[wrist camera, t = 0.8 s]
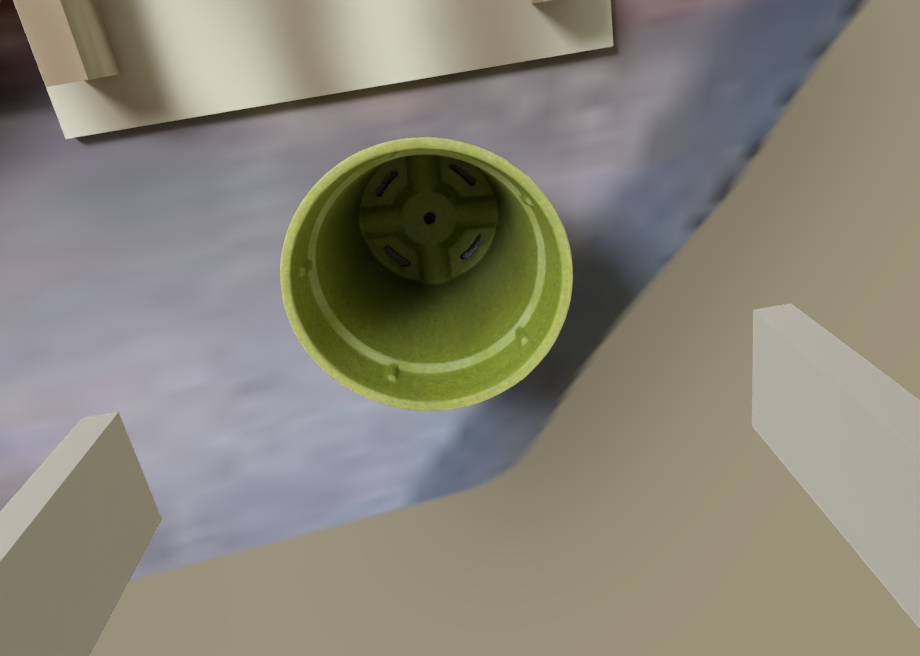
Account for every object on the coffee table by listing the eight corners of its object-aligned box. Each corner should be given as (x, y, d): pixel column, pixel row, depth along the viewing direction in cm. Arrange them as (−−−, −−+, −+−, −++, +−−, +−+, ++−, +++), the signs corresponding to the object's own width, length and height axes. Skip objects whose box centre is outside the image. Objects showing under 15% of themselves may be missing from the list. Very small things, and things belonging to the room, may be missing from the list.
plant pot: (450, 352, 33) (458, 457, 25) (277, 239, 31) (225, 316, 23) (579, 194, 30) (633, 256, 22) (400, 55, 28) (390, 69, 20)
